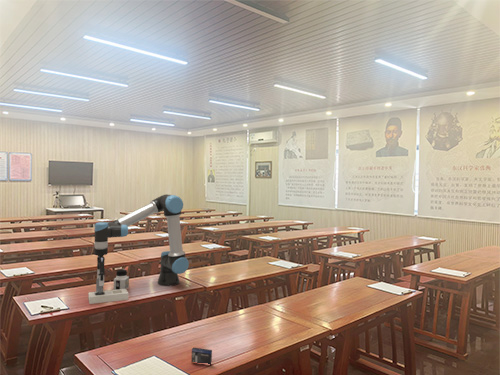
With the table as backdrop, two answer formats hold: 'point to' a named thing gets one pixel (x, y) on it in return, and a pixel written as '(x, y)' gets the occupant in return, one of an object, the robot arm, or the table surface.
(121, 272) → the container
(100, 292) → the pin
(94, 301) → the white slotted block
